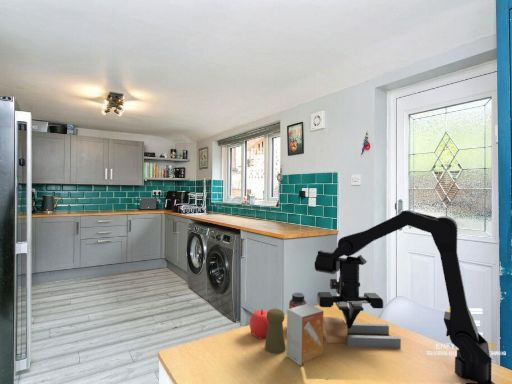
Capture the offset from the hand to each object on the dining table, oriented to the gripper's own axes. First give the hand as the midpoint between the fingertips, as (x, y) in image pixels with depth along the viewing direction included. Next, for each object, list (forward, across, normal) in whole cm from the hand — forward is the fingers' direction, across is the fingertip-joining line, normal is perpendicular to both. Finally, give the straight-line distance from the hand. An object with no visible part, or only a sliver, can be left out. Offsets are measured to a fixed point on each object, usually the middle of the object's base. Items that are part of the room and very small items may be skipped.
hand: (348, 327), depth 90 cm
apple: (+4, +27, -3) cm, 27 cm away
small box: (+4, +15, +9) cm, 18 cm away
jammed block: (+3, +4, 0) cm, 5 cm away
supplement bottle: (+4, +15, -8) cm, 17 cm away
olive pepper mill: (+4, +23, +5) cm, 24 cm away
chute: (+4, -6, 0) cm, 7 cm away
